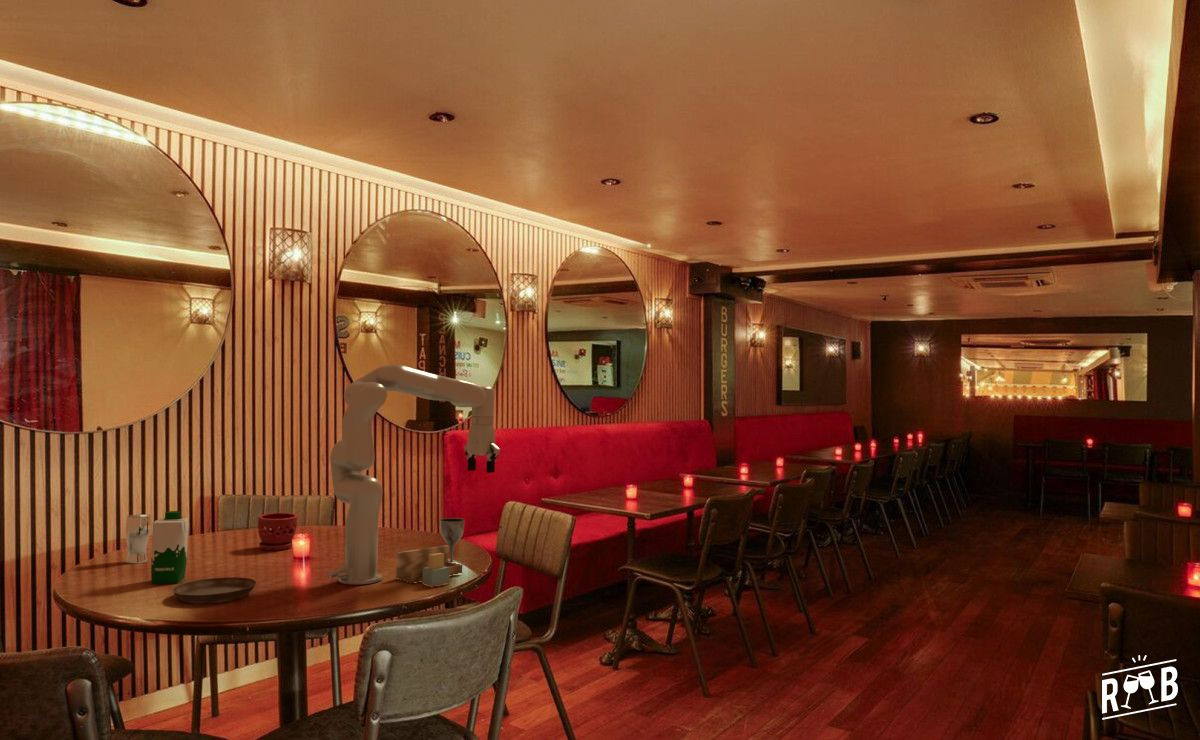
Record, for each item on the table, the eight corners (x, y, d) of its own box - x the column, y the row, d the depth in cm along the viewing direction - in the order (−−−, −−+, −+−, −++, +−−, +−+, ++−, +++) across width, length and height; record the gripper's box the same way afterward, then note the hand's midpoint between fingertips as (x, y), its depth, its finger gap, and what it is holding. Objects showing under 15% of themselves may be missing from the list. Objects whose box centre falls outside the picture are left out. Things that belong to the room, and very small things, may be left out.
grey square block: (431, 587, 219) (432, 556, 220) (422, 584, 223) (423, 554, 223) (448, 584, 224) (449, 554, 224) (439, 581, 227) (440, 551, 228)
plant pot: (248, 550, 267) (250, 516, 268) (274, 543, 280) (275, 511, 280) (279, 553, 264) (280, 518, 264) (303, 546, 276) (305, 513, 277)
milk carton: (188, 577, 226) (191, 510, 227) (180, 584, 217) (183, 515, 218) (156, 578, 224) (159, 511, 225) (146, 585, 215) (149, 515, 216)
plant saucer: (162, 595, 206) (162, 583, 206) (240, 584, 220) (241, 572, 220) (185, 611, 191) (185, 598, 191) (267, 598, 205) (268, 585, 206)
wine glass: (450, 568, 245) (451, 522, 245) (434, 564, 249) (435, 519, 250) (468, 564, 251) (469, 519, 252) (452, 561, 256) (453, 517, 256)
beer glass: (153, 560, 249) (155, 514, 249) (138, 564, 242) (141, 517, 242) (134, 559, 249) (136, 513, 250) (118, 563, 242) (121, 517, 243)
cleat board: (412, 584, 223) (413, 557, 223) (396, 578, 229) (396, 552, 229) (462, 574, 236) (462, 549, 236) (445, 570, 242) (446, 545, 243)
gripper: (457, 421, 262) (456, 470, 261) (491, 422, 251) (489, 474, 250) (474, 421, 268) (472, 469, 267) (507, 422, 257) (506, 472, 256)
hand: (480, 471), depth 259 cm, fingers open, 9 cm apart
